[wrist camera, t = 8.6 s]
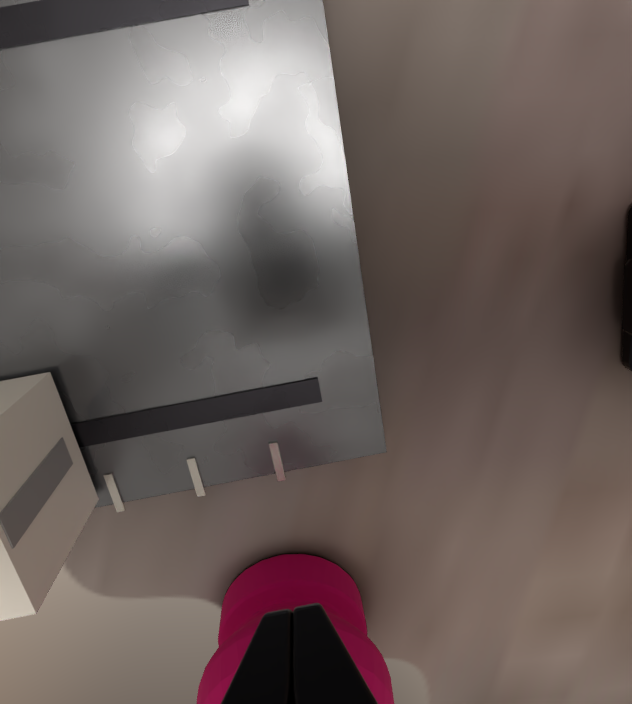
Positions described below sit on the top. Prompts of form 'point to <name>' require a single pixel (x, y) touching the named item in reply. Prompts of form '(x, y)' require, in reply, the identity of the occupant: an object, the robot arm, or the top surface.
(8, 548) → the fader plain
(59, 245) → the mixer panel
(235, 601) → the pepper mill
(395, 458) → the top surface
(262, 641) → the robot arm
